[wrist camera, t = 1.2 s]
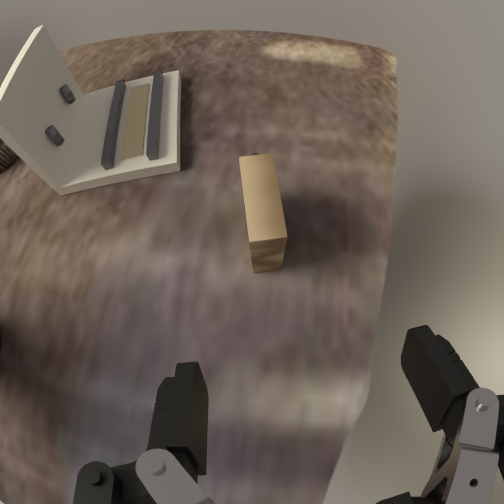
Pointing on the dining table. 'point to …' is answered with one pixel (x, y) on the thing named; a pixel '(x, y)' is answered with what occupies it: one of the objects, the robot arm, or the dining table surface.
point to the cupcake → (6, 156)
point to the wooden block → (263, 212)
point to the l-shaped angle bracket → (87, 122)
